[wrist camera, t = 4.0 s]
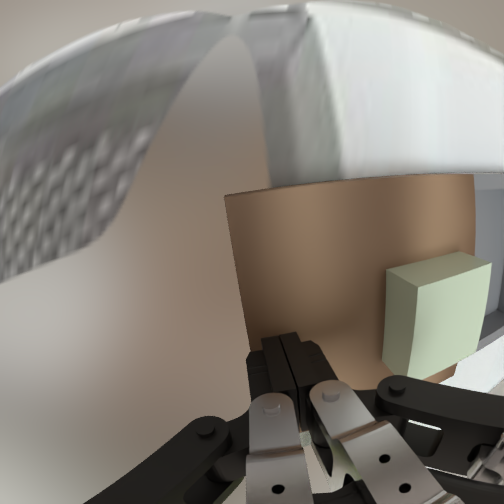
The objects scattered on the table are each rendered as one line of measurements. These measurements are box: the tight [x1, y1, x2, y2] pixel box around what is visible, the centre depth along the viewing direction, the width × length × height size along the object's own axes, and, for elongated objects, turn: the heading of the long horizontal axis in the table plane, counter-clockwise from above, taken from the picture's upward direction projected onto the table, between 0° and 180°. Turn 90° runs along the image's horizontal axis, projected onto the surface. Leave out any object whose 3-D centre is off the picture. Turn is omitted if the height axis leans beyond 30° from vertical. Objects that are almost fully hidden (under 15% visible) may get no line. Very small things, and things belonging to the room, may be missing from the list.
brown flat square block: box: [224, 174, 476, 433], centre depth 14 cm, size 13×13×4 cm
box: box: [435, 173, 504, 352], centre depth 15 cm, size 10×13×3 cm
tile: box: [382, 251, 492, 380], centre depth 11 cm, size 5×5×2 cm
